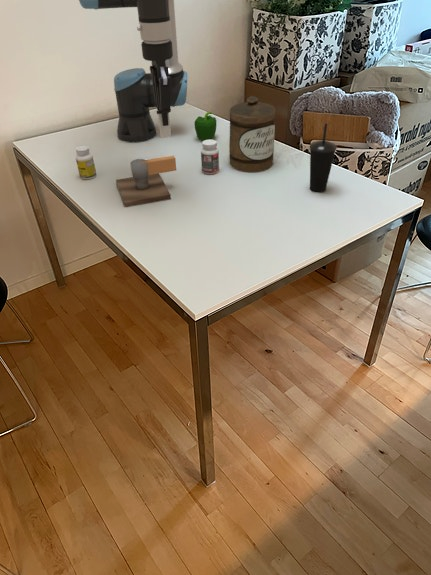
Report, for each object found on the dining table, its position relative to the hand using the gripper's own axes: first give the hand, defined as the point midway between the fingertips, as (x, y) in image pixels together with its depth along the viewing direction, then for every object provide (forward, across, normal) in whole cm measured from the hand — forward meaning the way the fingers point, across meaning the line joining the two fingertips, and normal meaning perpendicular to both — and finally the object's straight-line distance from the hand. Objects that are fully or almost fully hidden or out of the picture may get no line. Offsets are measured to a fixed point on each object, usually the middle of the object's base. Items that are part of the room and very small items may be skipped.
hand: (165, 135), depth 126 cm
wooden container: (+19, -14, +32) cm, 40 cm away
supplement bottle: (+19, -24, -22) cm, 38 cm away
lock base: (+19, -7, -7) cm, 22 cm away
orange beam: (+13, -7, -3) cm, 16 cm away
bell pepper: (+19, -40, +24) cm, 50 cm away
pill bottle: (+19, -13, +17) cm, 29 cm away
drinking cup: (+19, +11, +44) cm, 49 cm away
